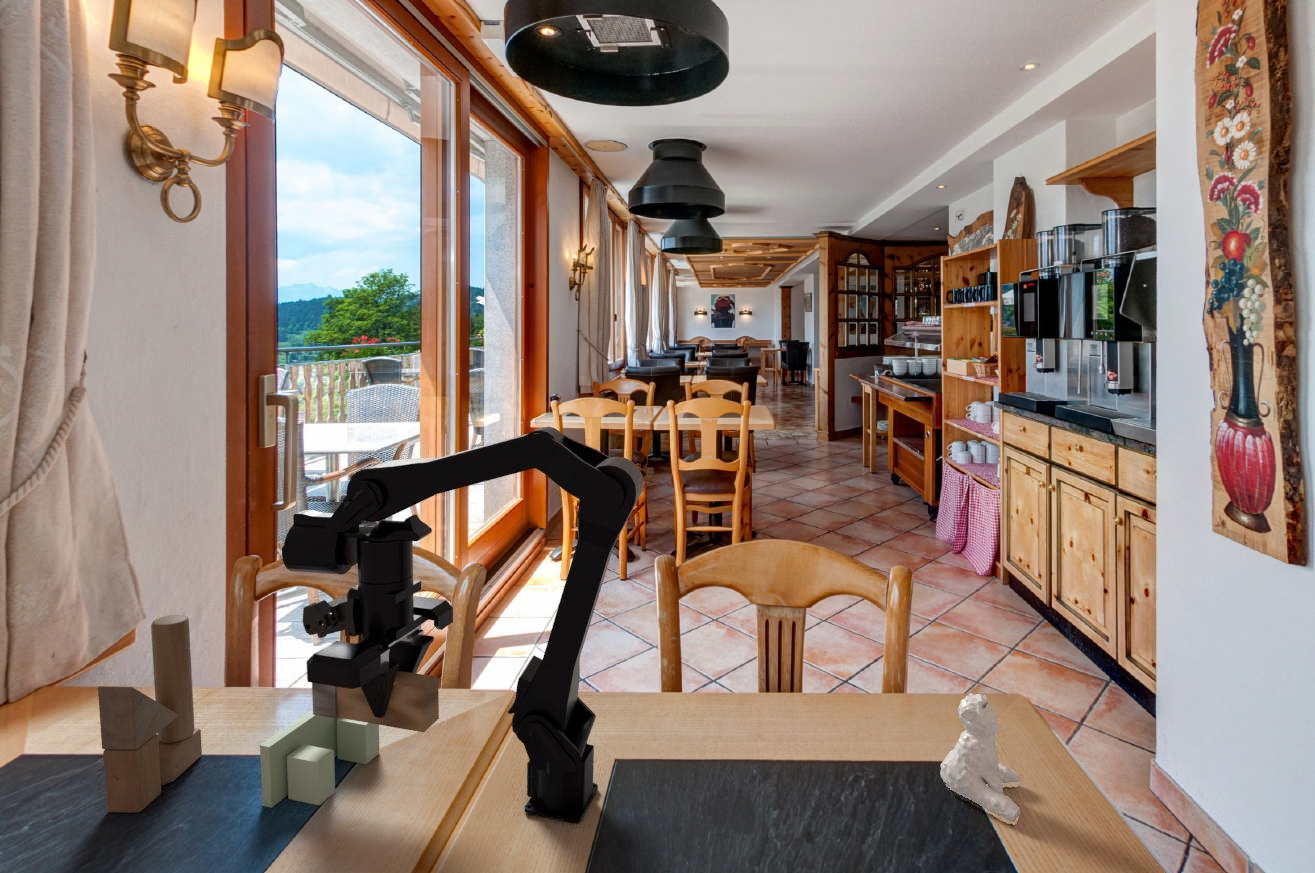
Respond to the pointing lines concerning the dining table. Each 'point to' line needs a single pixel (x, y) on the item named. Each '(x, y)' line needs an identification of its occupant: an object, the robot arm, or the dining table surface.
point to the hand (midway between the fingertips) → (388, 709)
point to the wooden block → (150, 723)
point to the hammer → (406, 709)
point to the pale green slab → (312, 757)
